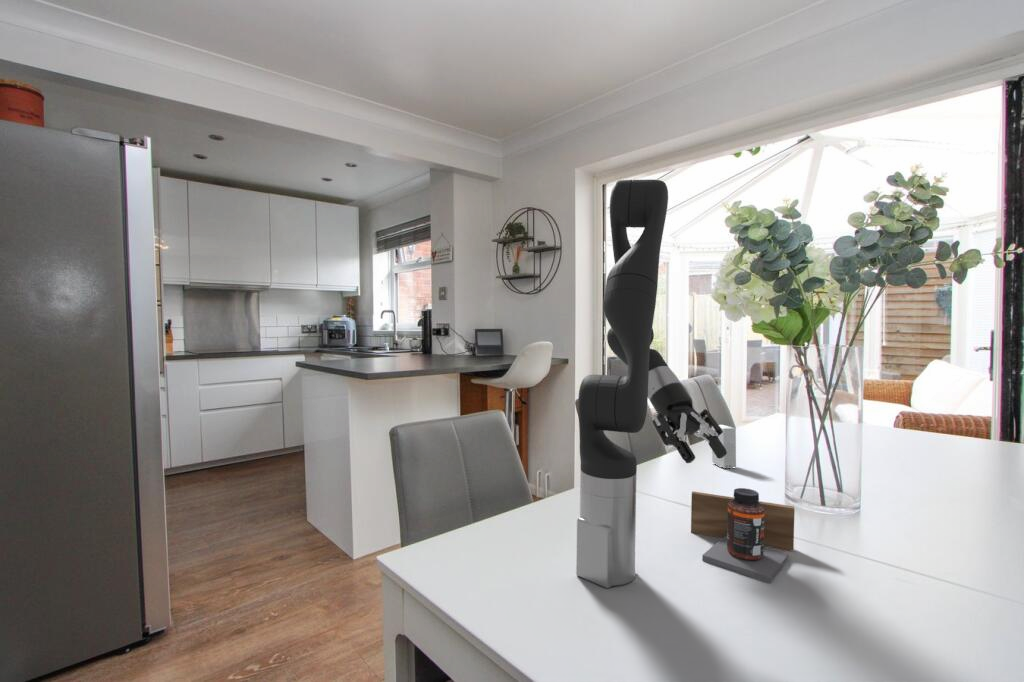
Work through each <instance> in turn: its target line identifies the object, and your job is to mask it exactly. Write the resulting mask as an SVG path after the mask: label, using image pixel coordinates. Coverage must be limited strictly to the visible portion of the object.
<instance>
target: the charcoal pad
mask: <svg viewBox="0 0 1024 682" xmlns="http://www.w3.org/2000/svg"><path fill="white" fill-rule="evenodd" d="M702 561H703V562H706V563H709V564H712V565H714V566H718V567H721V568H723V569H726V570H730V571H733V572H736V573H738V574H741V575H745V576H746V577H750V578H753V579H756V580H760V581H763V582H765V583H769V584H771V583H772V581H773V580H774V579H775V577H777V575H778V574H779V573H780V571H781V570H782V569H783V567H784V566H785V565H786V563H787V562H788V561H789V554H788V553H785V552H782V551H777V550H775V549H771V548H767V547H766V546H764V552H763V557H762V558H761V559H759V560H744V559H741V558H737V557H735V556H733V555H732V554H730V553H729V552H728V550H727V536H724V537H723V538H720V540H719V541H717V542H716V543H715V544H713V546H711V547H710V548H709V549H707V550H706V552H704V553H703V554H702Z"/></svg>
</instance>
